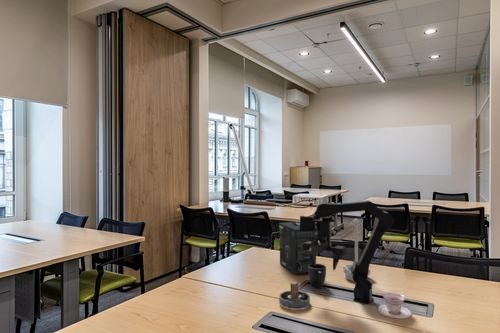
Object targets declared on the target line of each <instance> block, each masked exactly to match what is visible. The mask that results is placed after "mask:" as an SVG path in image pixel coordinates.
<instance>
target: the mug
mask: <svg viewBox="0 0 500 333" xmlns="http://www.w3.org/2000/svg"><path fill="white" fill-rule="evenodd" d="M307 275H308V279H309V282H310V286H311V288H314V289H322V288H323V287H324V285H325V282H326V276H327V266H326V265H325V264H322V263H316V266H313V264H310V265H308V274H307Z"/></svg>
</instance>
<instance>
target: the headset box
mask: <svg viewBox="0 0 500 333" xmlns="http://www.w3.org/2000/svg"><path fill="white" fill-rule="evenodd" d="M278 225H279V226H278V228H279V232H278V233H279V234H278V235H279V264H280V265H281V266H282V267H283V266H284V267H283V268H284V269H286V270H288V271H290V273H292V274H294V275H295V276H299V275H300V276H301V275H309V274H308V265H310V264H313V263H312V261H311V258H310V256H309V254H308V253H307V252H305V250H302V244H303V243H305V242H307V241H311V242H313V240H315V236H316V229H315V230H313V232H300V221H290V222H279V223H278Z"/></svg>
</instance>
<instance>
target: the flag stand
mask: <svg viewBox="0 0 500 333" xmlns="http://www.w3.org/2000/svg"><path fill="white" fill-rule="evenodd" d="M352 222H353V224H354V225H353V230H354V261H356V262H357V261H358V260H359V223H360V220H359V219H358V218H354V219H353V220H352ZM351 267H352V264H351V263H346V265H343V268H342V272H343V273H344V274H345V276H344V277H345V279H347V280H348V281H352V282H354V281H353V278H352V276H351V270H350V268H351ZM370 275H371V268H370V267H369V271H368V276H367V277H368V278H369V276H370Z"/></svg>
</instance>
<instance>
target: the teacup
mask: <svg viewBox="0 0 500 333" xmlns="http://www.w3.org/2000/svg"><path fill="white" fill-rule="evenodd" d="M382 297H383V299H384V300H385V303H386V304H382V305H379V306H378V307H377V311H378V313H379V314H381V315H383V316H385V317H387V318H392V319H399V320H400V319H402V320H403V319H408V318H410V317H412V312H411V310H409V309H408V308H406V307H404V306H402V305H403V304H404V301H405V300H406V299H405V296H404V295H403V294H401V293H398V292H385V293H383V295H382ZM399 313H400V314H399Z"/></svg>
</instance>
